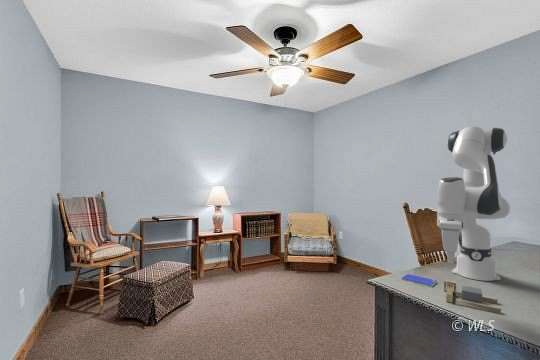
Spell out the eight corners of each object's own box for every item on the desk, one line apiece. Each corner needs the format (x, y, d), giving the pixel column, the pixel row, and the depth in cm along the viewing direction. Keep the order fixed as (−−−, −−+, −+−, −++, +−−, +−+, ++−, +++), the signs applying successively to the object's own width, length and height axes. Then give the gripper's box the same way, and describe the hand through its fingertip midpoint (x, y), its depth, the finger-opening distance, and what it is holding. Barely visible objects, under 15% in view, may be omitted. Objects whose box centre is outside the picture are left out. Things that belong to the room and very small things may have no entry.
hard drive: (437, 280, 125) (408, 273, 134) (431, 284, 120) (401, 277, 129) (436, 283, 125) (408, 276, 134) (431, 288, 120) (401, 280, 129)
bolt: (447, 289, 117) (447, 282, 117) (452, 291, 116) (452, 283, 116) (446, 301, 105) (446, 293, 105) (452, 303, 104) (452, 295, 104)
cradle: (444, 289, 117) (444, 279, 117) (496, 299, 107) (496, 288, 107) (442, 301, 105) (442, 290, 105) (500, 313, 96) (501, 301, 96)
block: (461, 298, 109) (461, 285, 109) (480, 302, 106) (481, 288, 106) (462, 303, 104) (462, 290, 104) (482, 307, 101) (482, 294, 101)
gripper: (442, 218, 111) (442, 253, 110) (439, 223, 94) (438, 264, 93) (462, 220, 107) (461, 256, 106) (461, 225, 90) (461, 268, 90)
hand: (451, 260), depth 100 cm, fingers open, 8 cm apart
